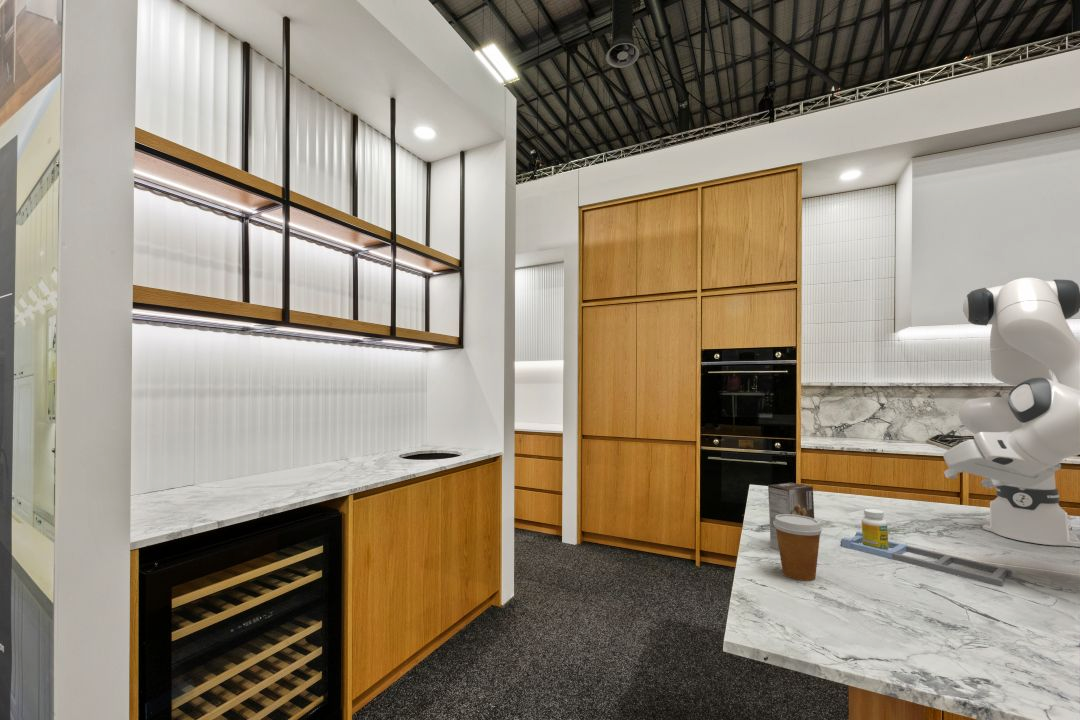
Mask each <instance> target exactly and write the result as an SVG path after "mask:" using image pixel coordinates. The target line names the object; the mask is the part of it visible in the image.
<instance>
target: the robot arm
mask: <svg viewBox="0 0 1080 720" xmlns="http://www.w3.org/2000/svg"><path fill="white" fill-rule="evenodd" d="M962 312H963V314H964V316H965V318H966V319H967V321H968V322H969V323H970V324H972V325H975V326H988V325H991V329H990V336H989V349H990V350H989V352H990V353H989V354H990V372H991V375H992V376H993V378H995V379H996V380H998V381H999V382H1001V383H1004V384H1007V385H1009V386H1013V388H1011V389H1012V390H1010V392H1009V393H1008V396H985V397H979V398H978V397H977V398H971V399H967V400H966V401H964V402H963V403H962V404H961V406H960V408H959V411H958V417H959V420H960V422H961V424H962V426H963V427H964V428H966V430H968V431H969V432H971V433H973V438H974V439H967V440H965V441H963V442H960V443H958V444H957V445H955V446H952V447H951V448H949V449H948V450H946V451H945V452H944V454H943V459H944V462H945V464H946V465H947V467H948V468H947V469H946V470H944V471H943V474H944V476H945V478H947V479H951V480H954V479H957V478H958V477H959V475H958V473H966V474H971V475H974V476H979V477H982V478H983V479H982V480H981V481H980V483H981V486H982V487H983V488H986V489H992V488H995V491H996V493H995V494H996V497H995V499H993V500H991V501H990V502H989V523H987V524H983V525H982V529H983V530H985V531H988V532H992V533H994V534H996V535H998V536H1001V537H1005V538H1009V539H1012V540H1017V541H1020V542H1026V543H1031V544H1039V545H1040V544H1041V545H1048V546H1064V547H1066V546H1067V547H1076V548H1080V539H1079V537H1078V536H1077V535H1076V533H1075V532H1074V531H1072V530H1073V526H1071V525H1069V518H1068V512H1067V511H1065V509H1063V508H1062V507H1061V506H1060V505H1059V503H1060V493H1059V490H1058V489H1057V488H1056V475H1055V472H1056V471H1059V470H1061V468H1062V464H1061V463H1062V461H1063V460H1064V459H1065V460H1066V458H1070V457H1075V456H1079V455H1080V341H1079V339H1078V338H1077V336H1076V335H1075V333H1073V331H1072V329H1071V328H1070V326H1069V324H1068V321H1067V320H1068V319H1071V318H1072V317H1073V316H1075V315H1077V314H1078V313H1079V312H1080V287H1079V285H1078V283H1077V282H1075V281H1073V280H1072V279H1053V280H1043V279H1041V278H1036V277H1020V278H1017V279H1016V278H1015V279H1013V280H1011V281H1009V282H1007V283H1005V284H1004V285H997V286H993V287H992V286H991V287H988V288H986V287H981V288H977V289H974V290H971V291H970V292H969V293H968V294H967V295H966V298H965V299H964V301H963V303H962ZM1051 372H1052V374H1054V376H1055V377H1056V380H1057V381H1056V380H1054V379H1053V378H1052V375H1051Z"/></svg>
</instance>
